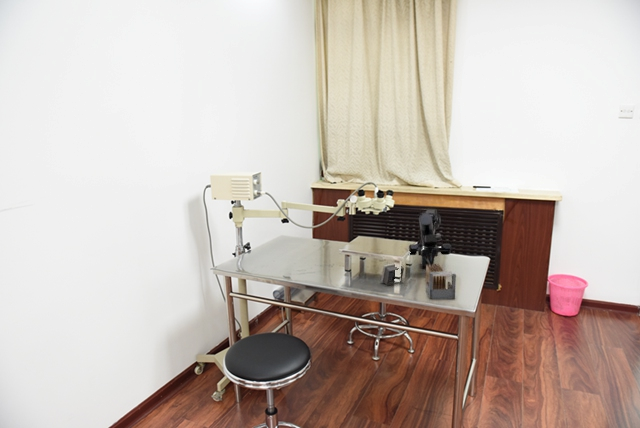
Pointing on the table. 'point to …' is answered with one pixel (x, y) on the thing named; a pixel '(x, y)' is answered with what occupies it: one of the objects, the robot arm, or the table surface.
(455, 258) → the table surface
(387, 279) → the electrical switch
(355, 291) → the table surface
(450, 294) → the grey open frame
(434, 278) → the heat-sink block
